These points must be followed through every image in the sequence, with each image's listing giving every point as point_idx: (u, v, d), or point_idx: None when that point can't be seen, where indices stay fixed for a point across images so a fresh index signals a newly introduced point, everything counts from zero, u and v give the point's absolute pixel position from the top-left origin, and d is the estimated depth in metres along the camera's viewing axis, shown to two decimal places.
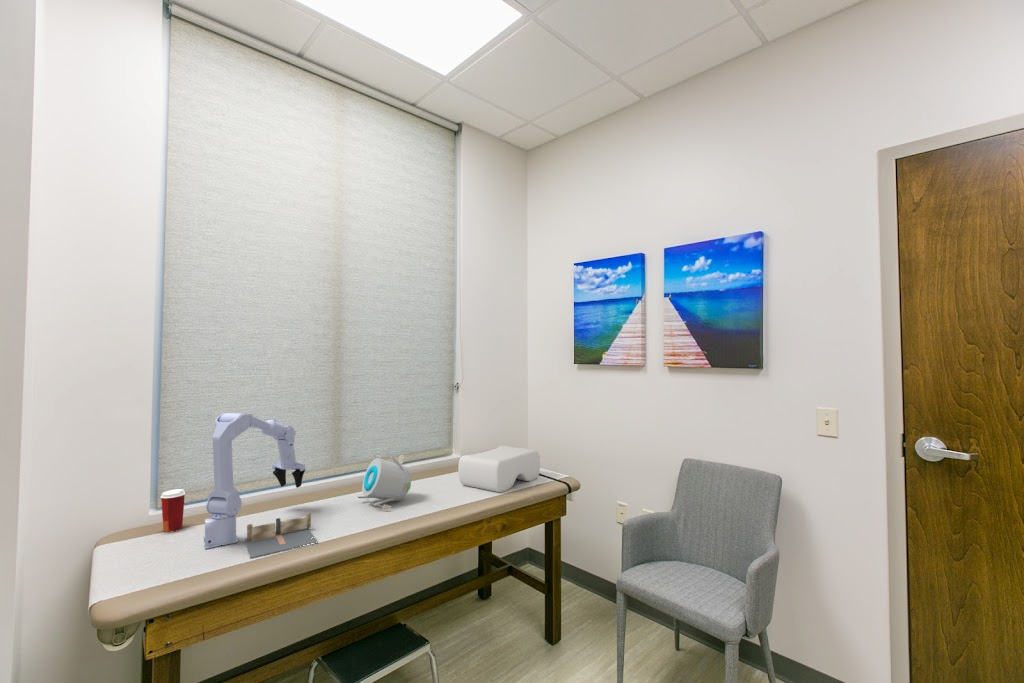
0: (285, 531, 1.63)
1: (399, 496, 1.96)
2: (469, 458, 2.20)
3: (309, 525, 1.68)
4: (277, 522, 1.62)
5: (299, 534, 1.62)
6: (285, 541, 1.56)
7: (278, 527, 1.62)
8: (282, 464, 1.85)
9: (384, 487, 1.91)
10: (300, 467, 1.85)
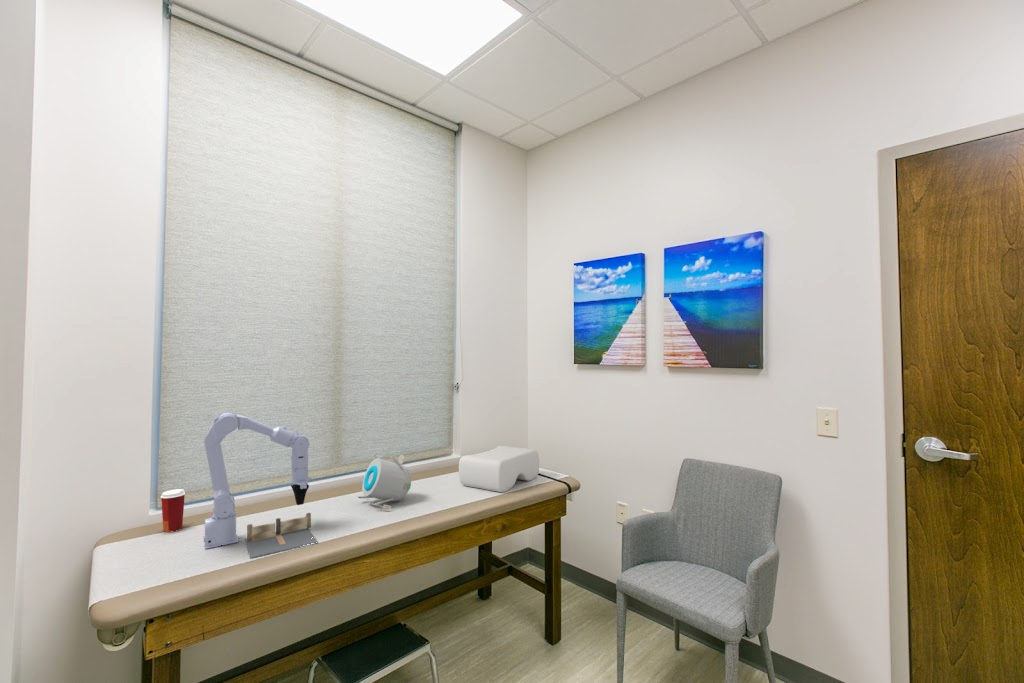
0: (285, 531, 1.63)
1: (399, 496, 1.95)
2: (470, 458, 2.19)
3: (309, 525, 1.68)
4: (277, 522, 1.62)
5: (299, 534, 1.62)
6: (285, 541, 1.56)
7: (278, 527, 1.62)
8: (291, 477, 1.70)
9: (384, 487, 1.91)
10: (300, 484, 1.66)
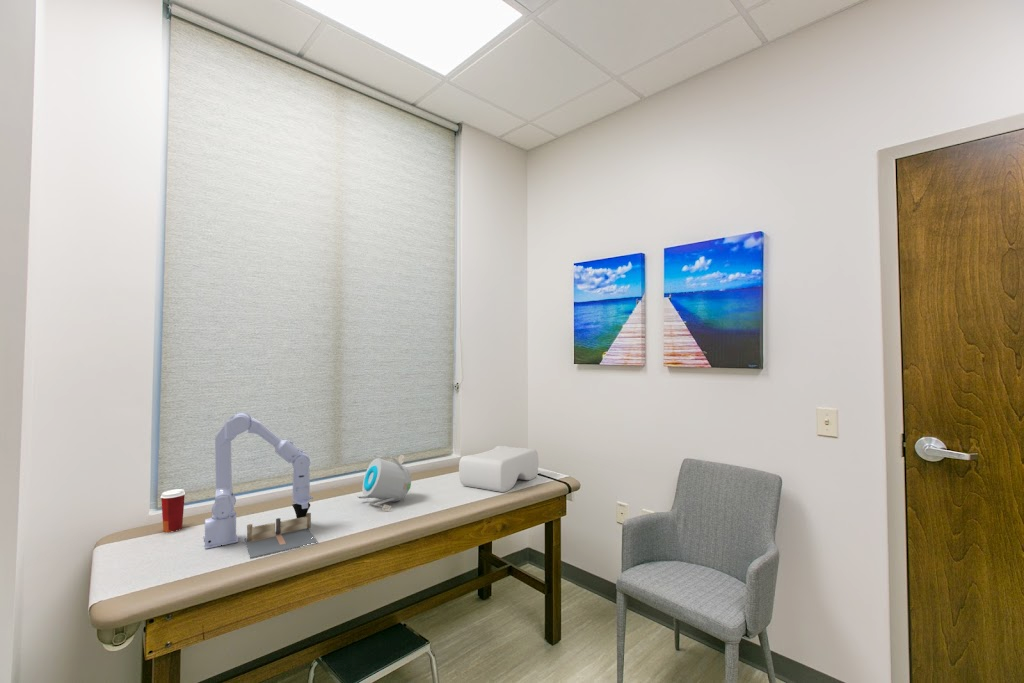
0: (285, 531, 1.63)
1: (399, 496, 1.95)
2: (470, 458, 2.19)
3: (309, 525, 1.68)
4: (277, 522, 1.62)
5: (299, 534, 1.62)
6: (285, 541, 1.56)
7: (278, 527, 1.62)
8: None
9: (384, 487, 1.91)
10: (301, 504, 1.63)
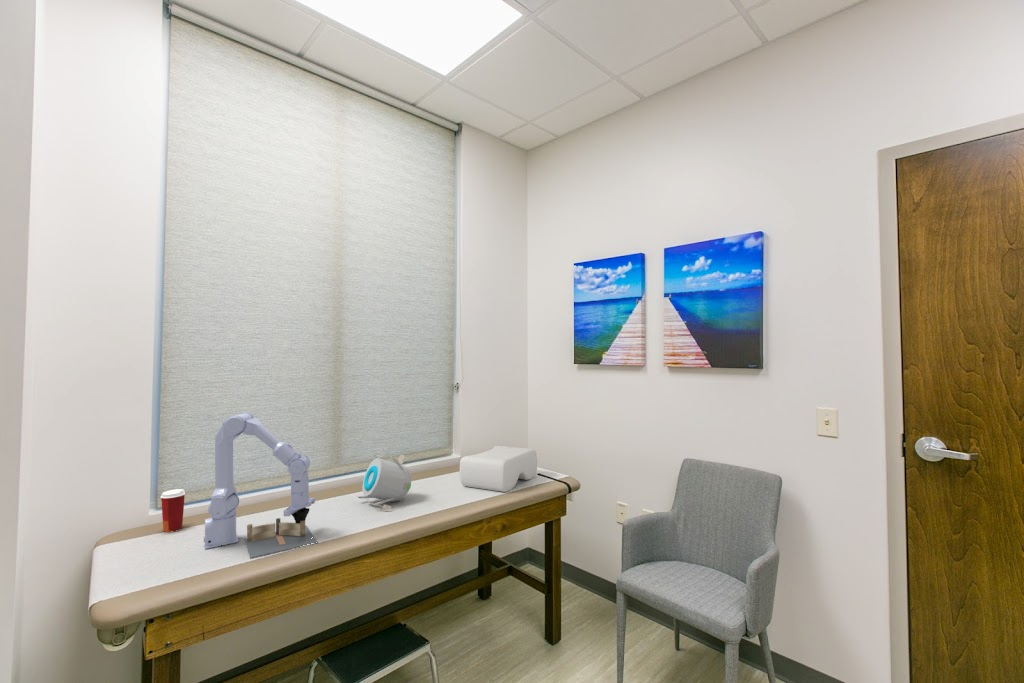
0: (282, 533, 1.61)
1: (399, 496, 1.95)
2: (471, 459, 2.18)
3: (301, 534, 1.60)
4: (276, 522, 1.62)
5: None
6: (285, 541, 1.56)
7: (276, 527, 1.62)
8: None
9: (384, 487, 1.91)
10: None
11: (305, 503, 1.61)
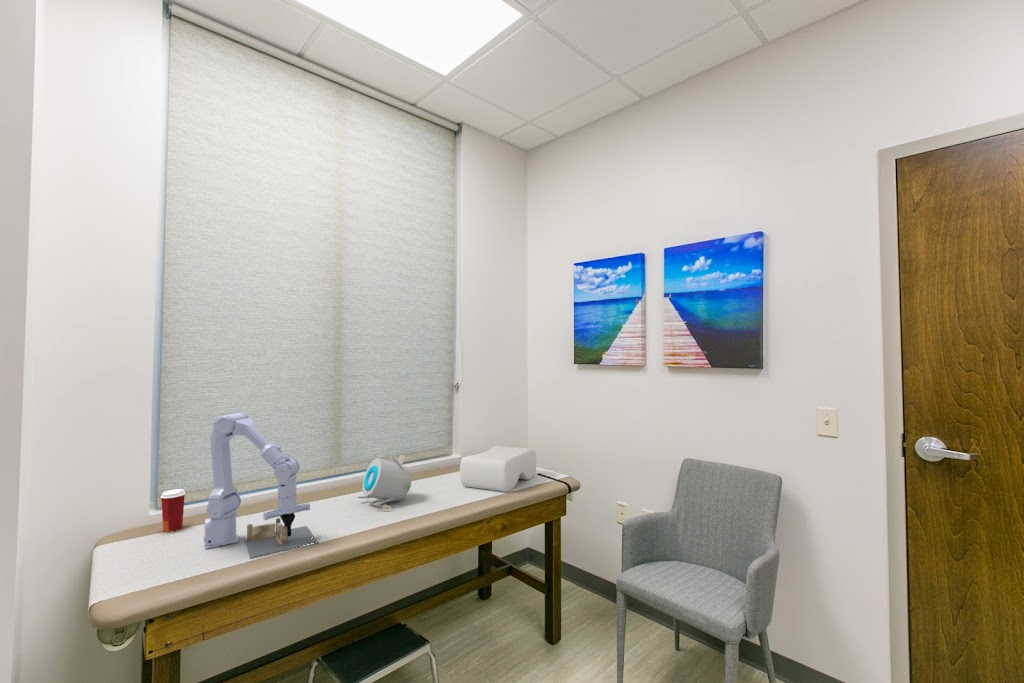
0: (277, 534, 1.60)
1: (399, 496, 1.95)
2: (472, 459, 2.18)
3: (282, 540, 1.54)
4: None
5: (299, 534, 1.62)
6: None
7: (276, 527, 1.62)
8: None
9: (384, 487, 1.91)
10: None
11: (287, 509, 1.55)
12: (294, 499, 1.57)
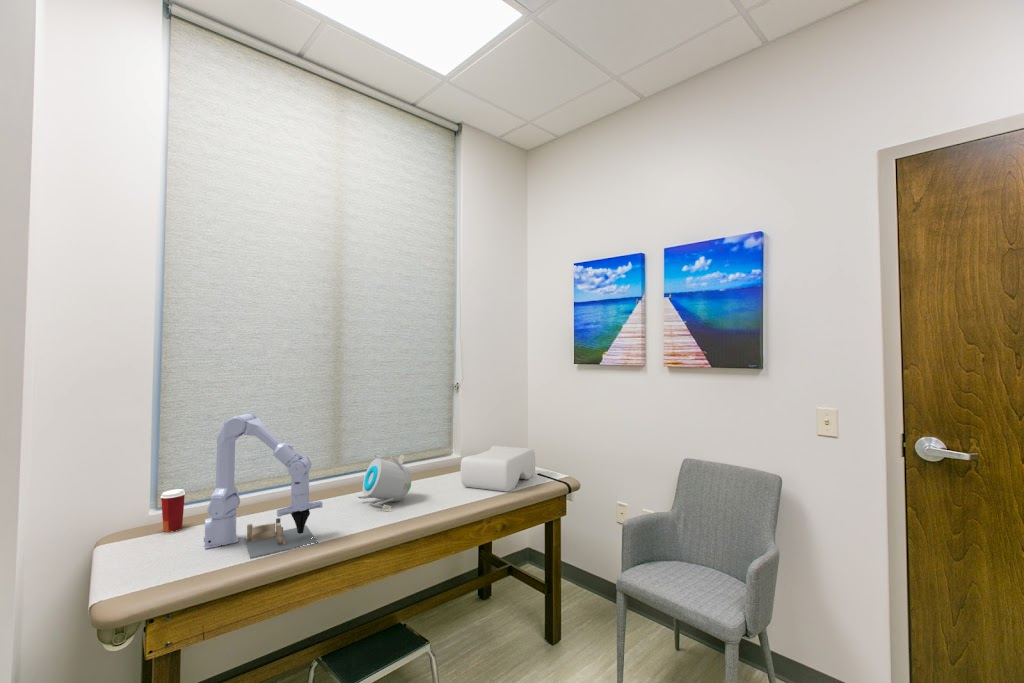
0: None
1: (399, 496, 1.95)
2: (473, 459, 2.17)
3: (278, 541, 1.53)
4: None
5: (299, 534, 1.62)
6: (285, 541, 1.56)
7: (276, 527, 1.62)
8: None
9: (384, 487, 1.91)
10: None
11: (300, 506, 1.58)
12: (307, 496, 1.60)
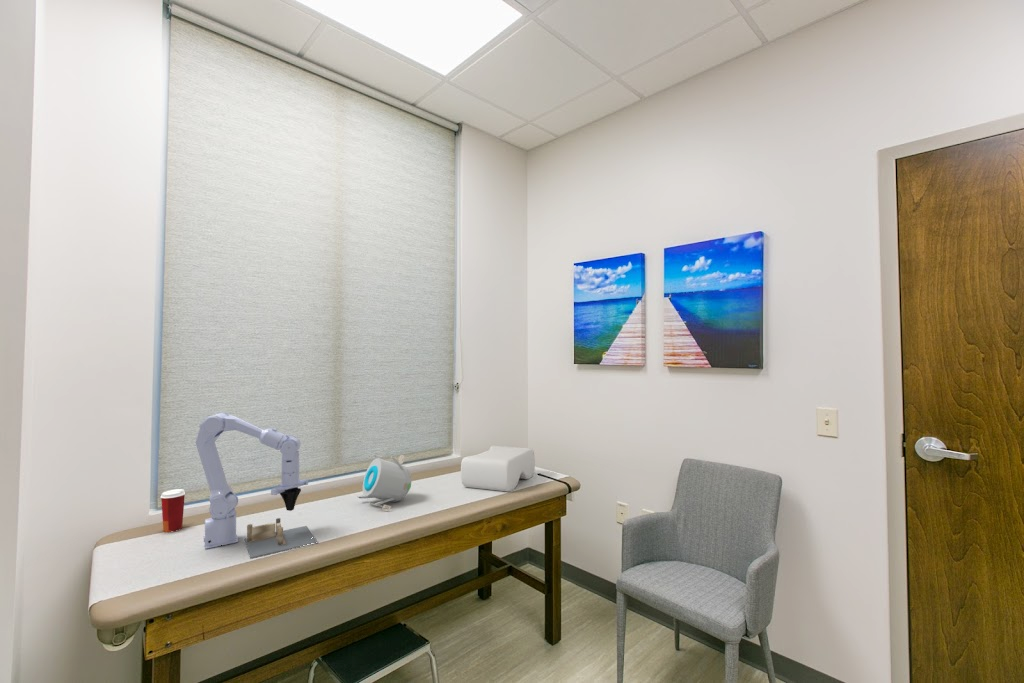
0: None
1: (399, 496, 1.95)
2: (473, 459, 2.17)
3: (278, 541, 1.53)
4: None
5: (299, 534, 1.62)
6: (285, 541, 1.56)
7: (276, 527, 1.62)
8: None
9: (384, 487, 1.91)
10: None
11: (294, 483, 1.63)
12: (298, 474, 1.65)
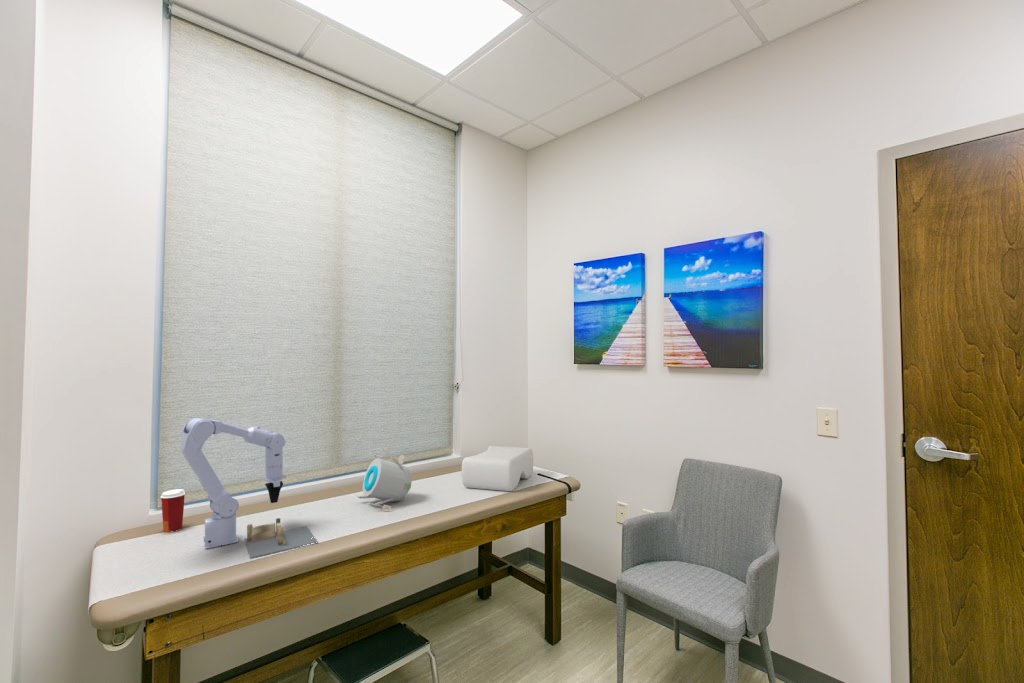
0: None
1: (399, 496, 1.95)
2: (474, 459, 2.16)
3: (278, 541, 1.53)
4: None
5: (299, 534, 1.62)
6: (285, 541, 1.56)
7: (276, 527, 1.62)
8: (265, 475, 1.70)
9: (384, 487, 1.91)
10: (273, 482, 1.65)
11: (282, 475, 1.72)
12: None
